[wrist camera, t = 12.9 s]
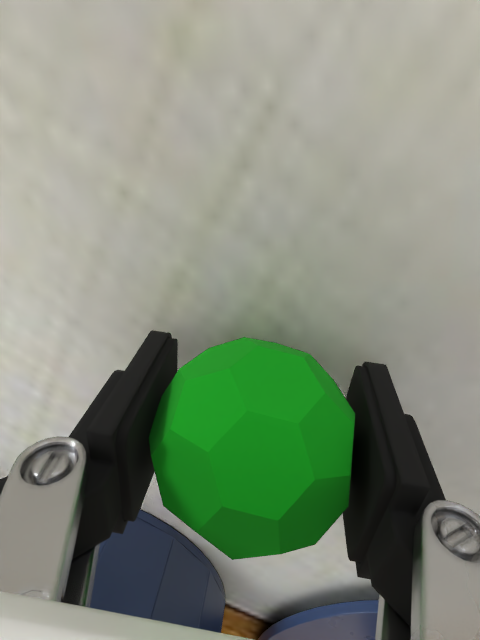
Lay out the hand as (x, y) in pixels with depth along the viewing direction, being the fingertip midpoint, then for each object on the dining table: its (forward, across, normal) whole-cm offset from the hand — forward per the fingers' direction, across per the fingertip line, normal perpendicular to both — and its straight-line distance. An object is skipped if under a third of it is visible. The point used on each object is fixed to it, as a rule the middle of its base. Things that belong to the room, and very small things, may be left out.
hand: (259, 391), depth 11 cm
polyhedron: (+1, 0, 0) cm, 1 cm away
